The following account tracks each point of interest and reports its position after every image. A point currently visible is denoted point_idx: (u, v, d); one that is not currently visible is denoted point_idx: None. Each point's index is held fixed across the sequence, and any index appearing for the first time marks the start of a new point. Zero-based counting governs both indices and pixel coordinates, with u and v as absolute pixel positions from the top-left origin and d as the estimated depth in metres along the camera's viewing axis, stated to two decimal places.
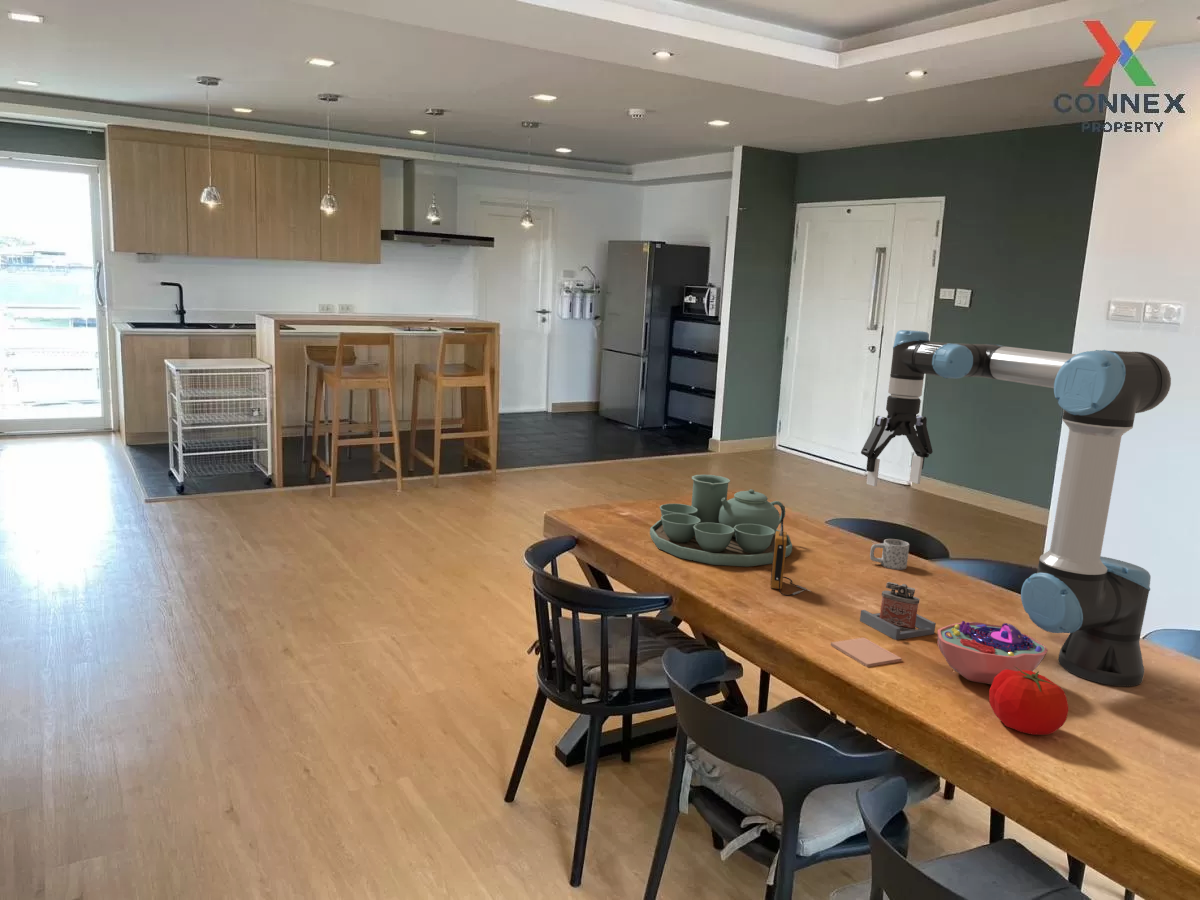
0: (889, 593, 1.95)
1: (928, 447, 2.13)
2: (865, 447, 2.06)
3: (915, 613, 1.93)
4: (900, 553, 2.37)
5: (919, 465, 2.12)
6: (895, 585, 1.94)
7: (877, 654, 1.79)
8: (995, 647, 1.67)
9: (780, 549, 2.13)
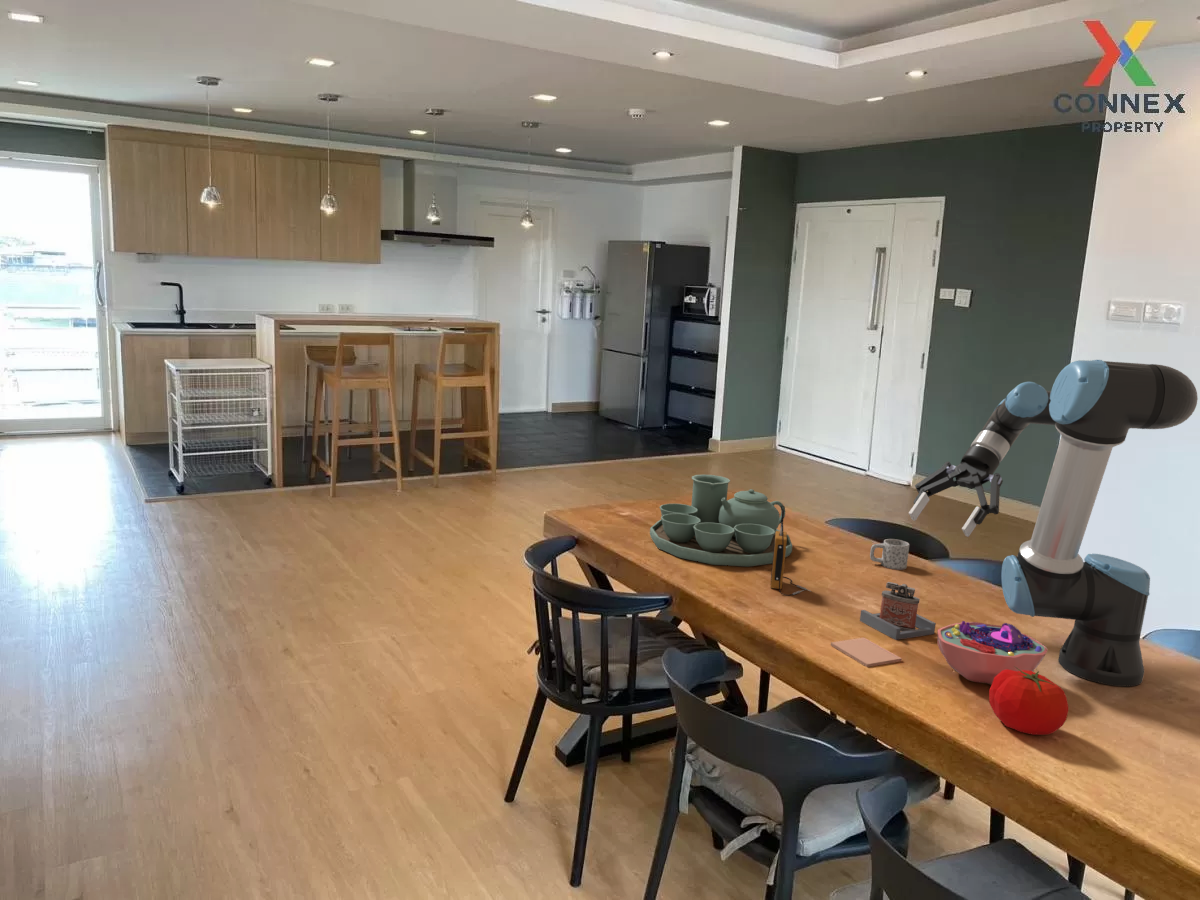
0: (889, 593, 1.95)
1: (991, 500, 1.93)
2: None
3: (915, 613, 1.93)
4: (900, 553, 2.37)
5: None
6: (895, 585, 1.94)
7: (877, 654, 1.79)
8: (995, 647, 1.67)
9: (780, 549, 2.13)
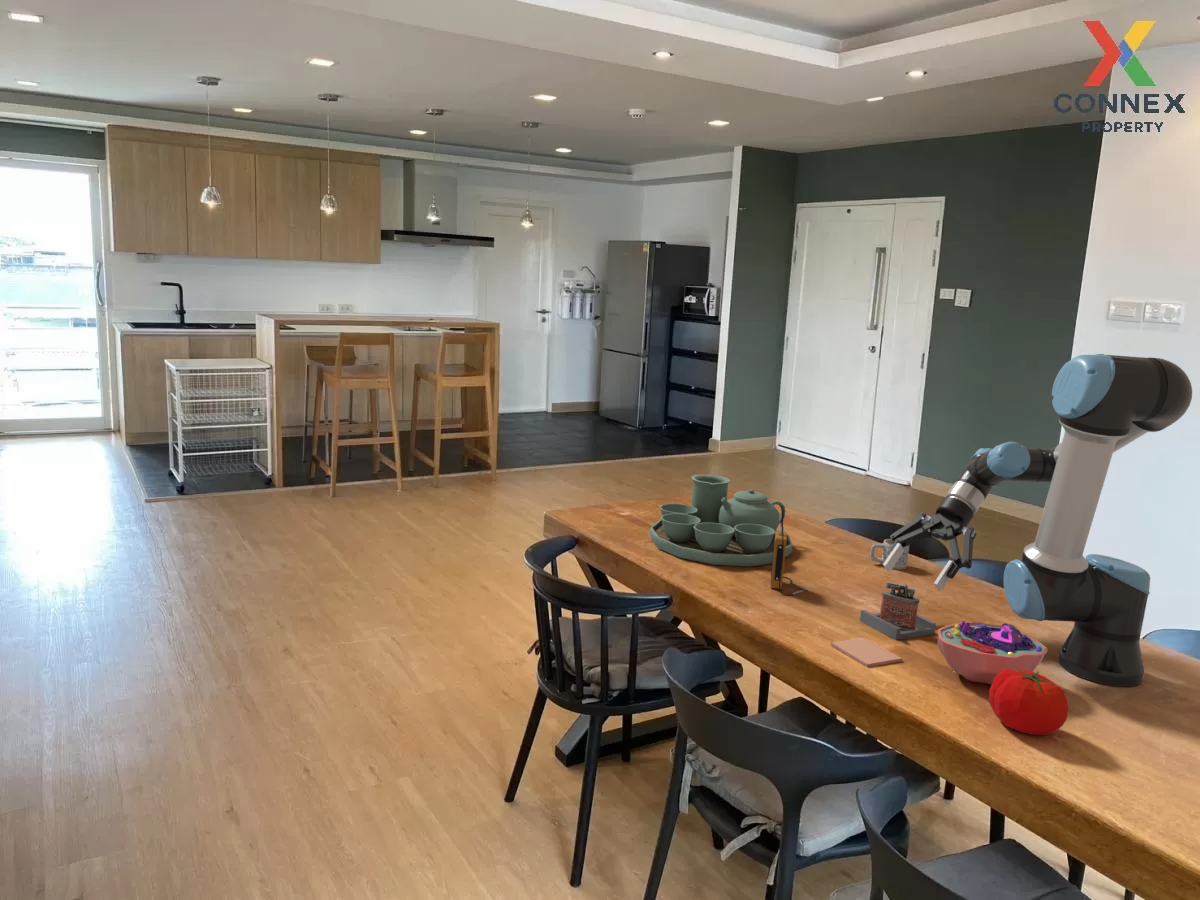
0: (889, 593, 1.95)
1: (964, 555, 1.93)
2: None
3: (915, 613, 1.93)
4: None
5: None
6: (895, 585, 1.94)
7: (877, 654, 1.79)
8: (995, 647, 1.67)
9: (780, 549, 2.13)
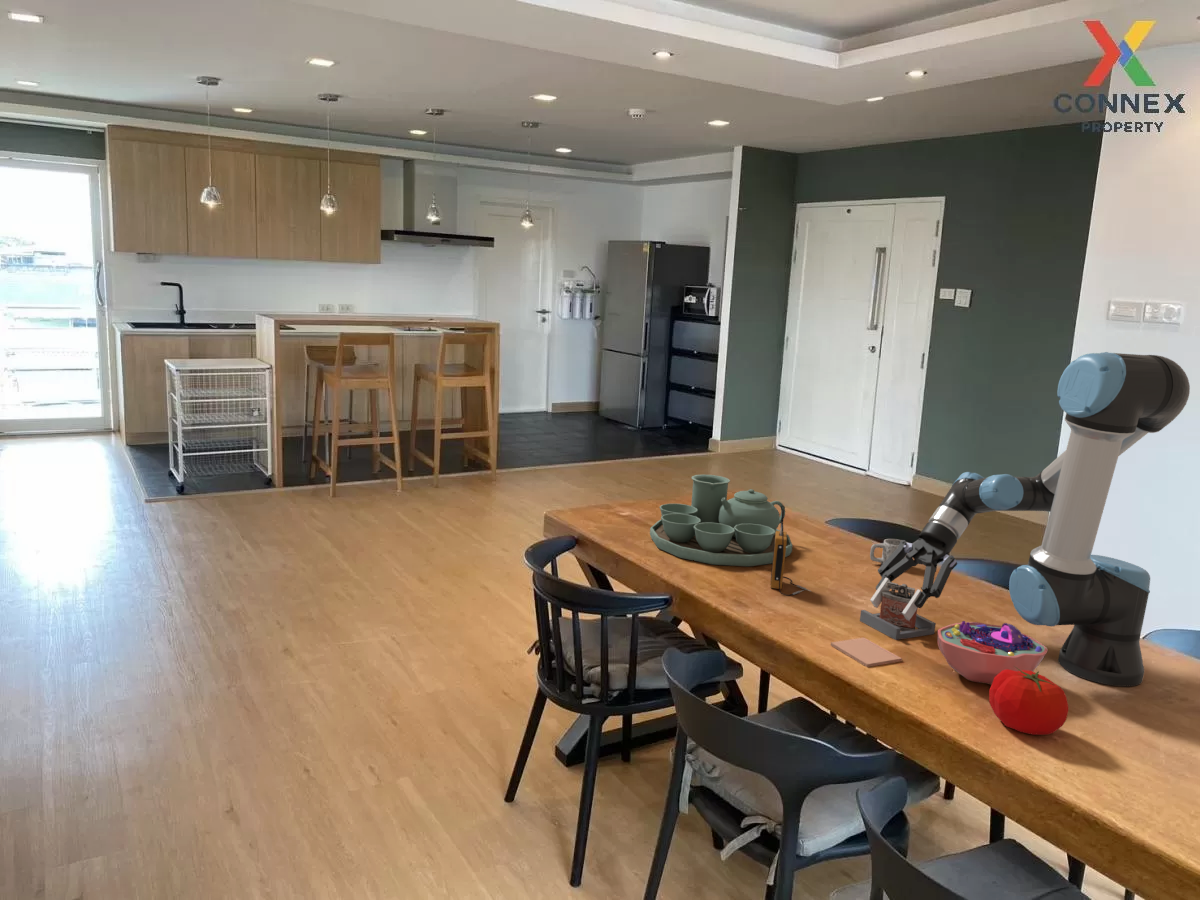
0: (889, 593, 1.95)
1: (934, 584, 1.90)
2: None
3: (915, 613, 1.93)
4: None
5: None
6: (895, 585, 1.94)
7: (877, 654, 1.79)
8: (995, 647, 1.67)
9: (780, 549, 2.13)
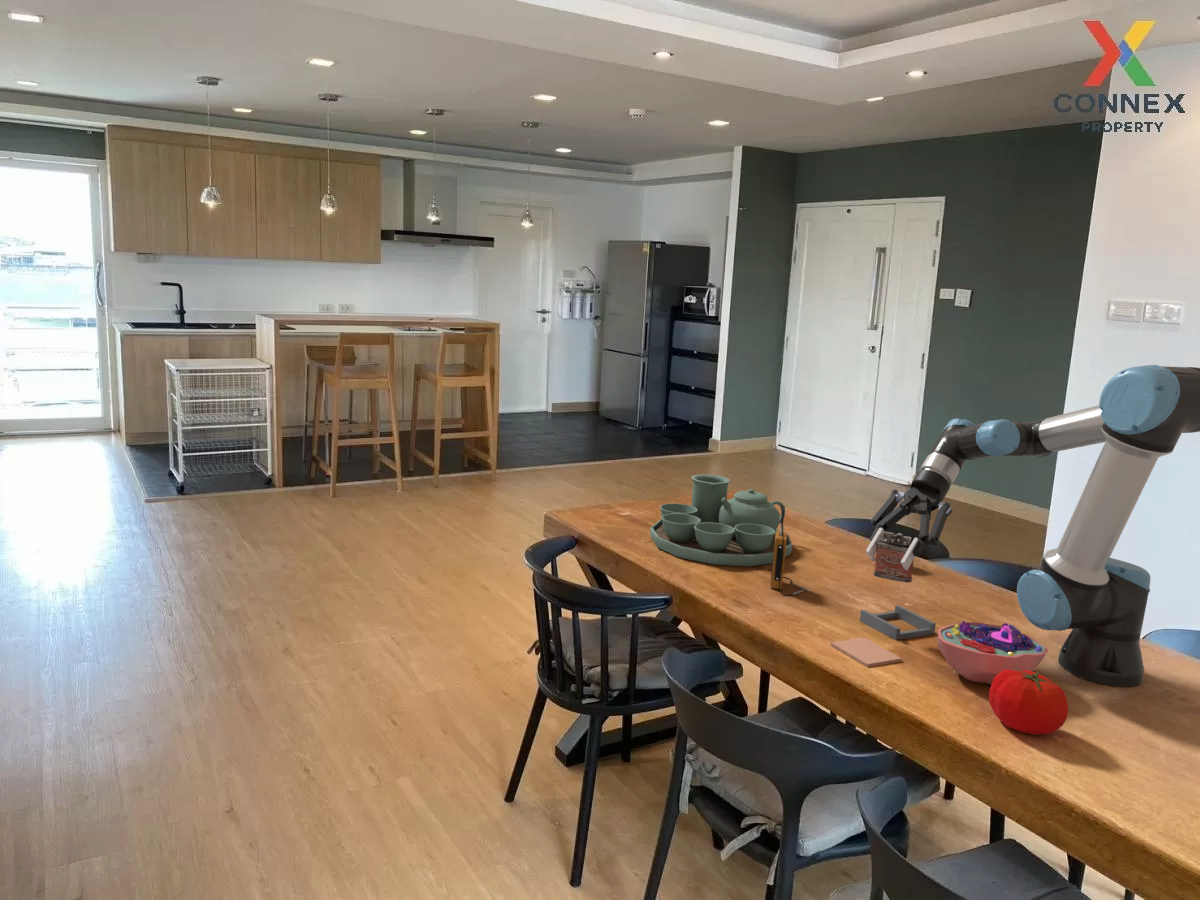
0: (885, 543, 1.90)
1: (932, 531, 1.85)
2: None
3: (912, 562, 1.88)
4: None
5: None
6: (891, 534, 1.89)
7: (877, 654, 1.79)
8: (995, 647, 1.67)
9: (780, 549, 2.13)
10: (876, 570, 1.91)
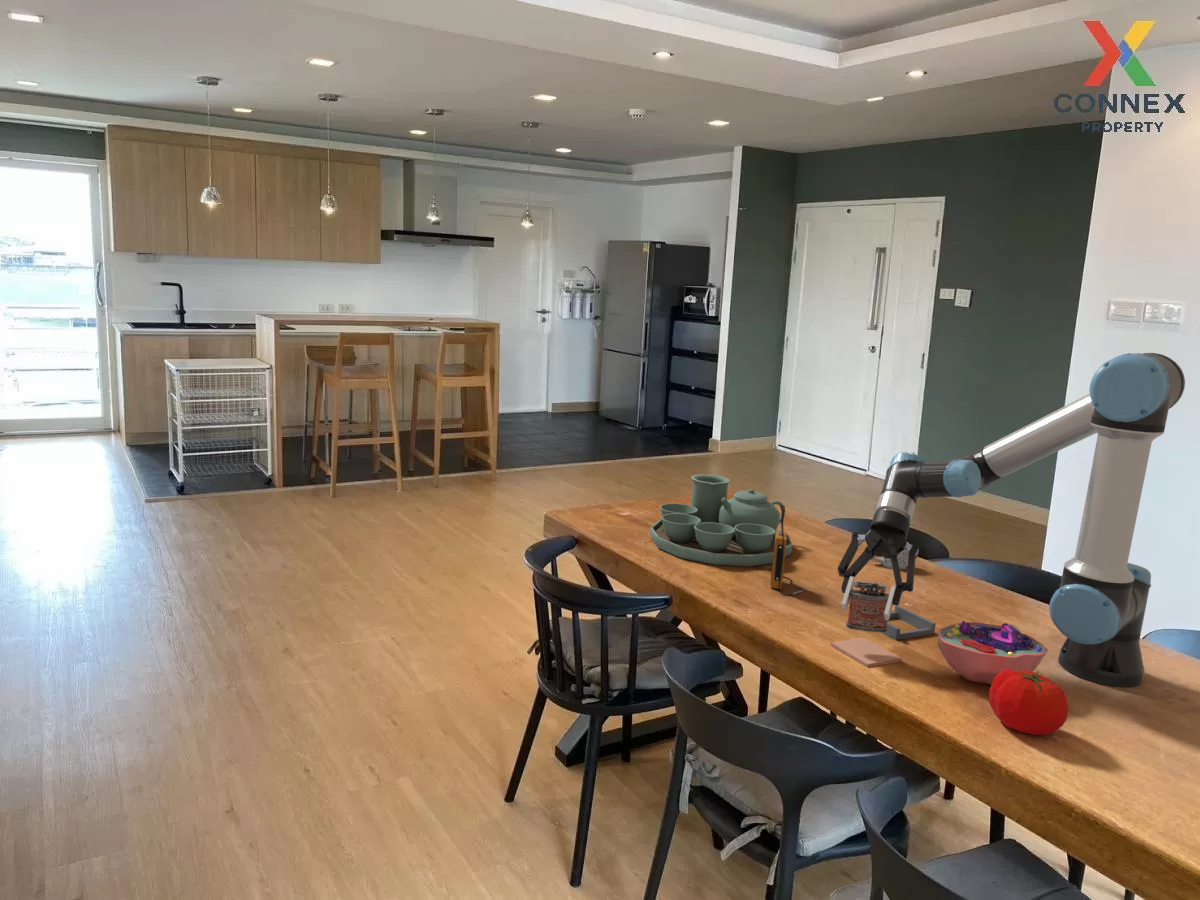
0: (859, 593, 1.79)
1: (908, 577, 1.77)
2: None
3: None
4: (900, 553, 2.37)
5: None
6: (866, 583, 1.78)
7: (877, 654, 1.79)
8: (995, 647, 1.67)
9: (780, 549, 2.13)
10: (851, 622, 1.79)
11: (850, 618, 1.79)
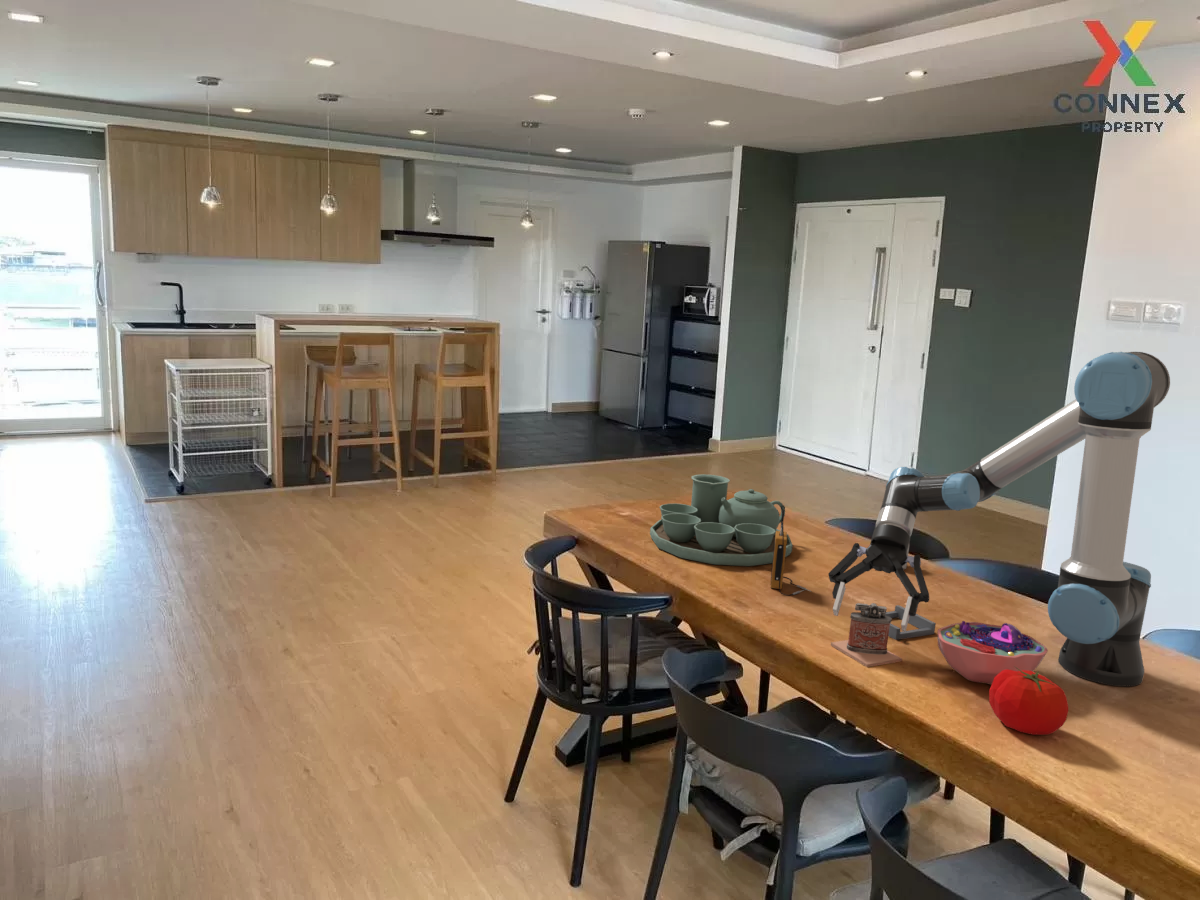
0: (859, 615, 1.79)
1: (922, 588, 1.77)
2: None
3: (888, 633, 1.79)
4: None
5: (906, 604, 1.76)
6: (866, 606, 1.78)
7: (877, 654, 1.79)
8: (995, 647, 1.67)
9: (780, 549, 2.13)
10: (851, 644, 1.80)
11: (851, 640, 1.80)
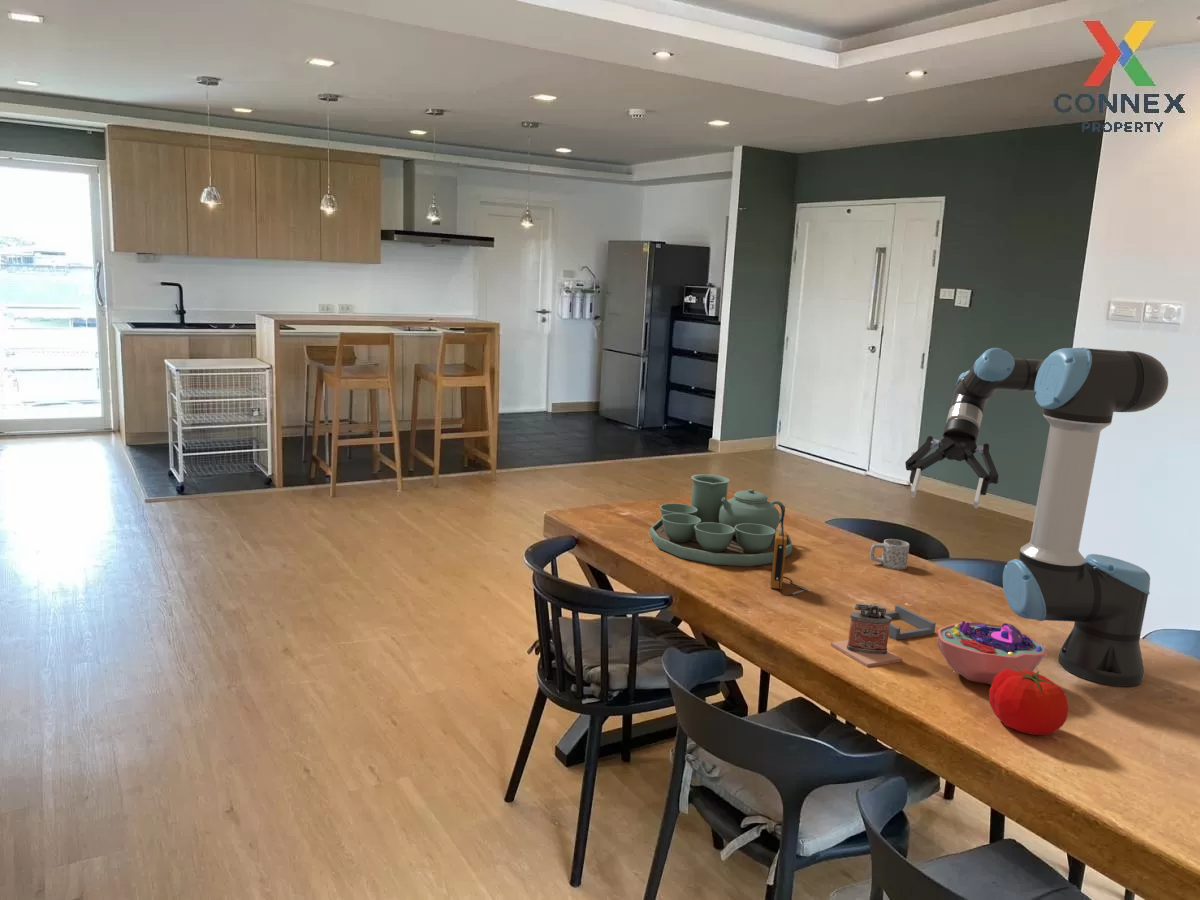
0: (859, 615, 1.79)
1: (992, 471, 1.99)
2: None
3: (888, 633, 1.79)
4: (900, 553, 2.37)
5: (978, 484, 1.98)
6: (866, 606, 1.78)
7: (877, 654, 1.79)
8: (995, 647, 1.67)
9: (780, 549, 2.13)
10: (851, 644, 1.80)
11: (851, 640, 1.80)
